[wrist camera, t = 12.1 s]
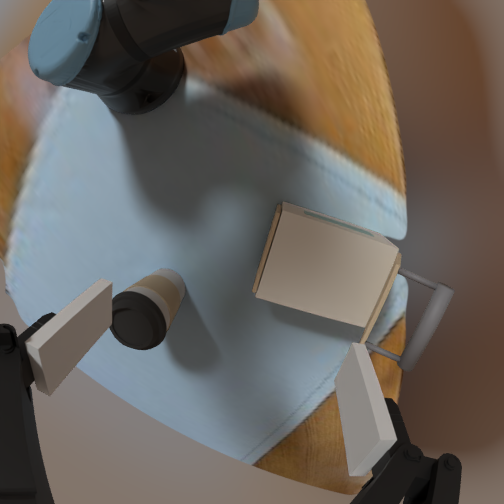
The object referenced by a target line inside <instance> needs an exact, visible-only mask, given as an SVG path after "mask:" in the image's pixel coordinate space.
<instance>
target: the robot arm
mask: <svg viewBox="0 0 504 504" xmlns="http://www.w3.org/2000/svg"><path fill="white" fill-rule="evenodd" d="M258 9H259V0H52V1H51V3H49V5H48V6H47V7H46V8H45V10H44V11H43V13H42V14H41V16H40V17H39V19H38V20H37V23H36V25H35V27H34V29H33V31H32V34H31V38H30V42H29V48H28V59H29V64H30V67H31V69H32V71H33V73H34V74H35V75H36V76H37V77H38V78H40V79H42V80H45V81H48V82H50V83H52V84H53V85H55V86H64V87H69V88H73V89H77V90H82V91H86V92H90V93H94V94H97V95H98V96H99V98H100V99H101V100H102V101H103V102H104V103H105V104H106V105H107V106H108V107H109V108H111V109H113V110H115V111H117V112H121V113H125V114H132V115H134V114H142V113H146V112H149V111H151V110H153V109H155V108H157V107H158V106H160V105H161V104H163V103H164V102H165V101H166V100H167V99H168V98H169V97H170V96H171V95H172V93H173V92H174V91H175V89H176V88H177V86H178V84H179V82H180V80H181V77H182V73H183V67H184V59H183V54H182V51H181V49H180V47H182V46H185V45H188V44H191V43H194V42H197V41H200V40H203V39H206V38H209V37H213V36H216V35H224V34H226V33H227V32H228V31H231V30H235V29H238V28H241V27H244V26H247V25H249V24H251V23H252V22H253V21H254V20H255V18H256V17H257V14H258ZM111 324H112V282H110V281H107V280H104V279H99V280H98V281H97V282H96V283H94V284H93V285H92V286H91V287H89V288H88V289H87V290H86V291H84V292H83V293H82V294H81V295H79V296H78V297H77V298H76V299H74V300H73V301H72V302H71V303H70V304H68V305H67V306H66V307H65V308H64V309H62V310H61V311H60V312H59V313H58V314H55V313H52V312H51V313H49V314H46V315H44V316H42V317H41V318H40V319H38V320H37V322H35V323H34V324H32V325H31V326H30V327H29V328H28V329H27V330H25V331H24V332H23V333H22V334H21V335H19V336H18V337H17V334H16V330H15V328H14V327H13V326H11V325H9V324H0V504H55V503H54V500H53V497H52V493H51V490H50V487H49V483H48V479H47V475H46V471H45V467H44V463H43V459H42V455H41V450H40V444H39V439H38V434H37V428H36V422H35V415H34V407H33V399H32V390H31V387H30V385H31V384H32V382H33V381H34V380H35V384H36V387H37V389H38V390H39V391H41V392H43V393H45V394H46V395H48V396H51V395H52V393H53V392H54V391H55V389H56V388H57V387H58V386H59V385H60V384H61V382H62V381H63V380H64V379H65V378H66V376H67V375H68V374H69V373H70V371H71V370H72V369H73V368H74V367H75V366H76V365H77V363H78V362H79V361H80V360H81V359H82V358H83V356H84V355H85V354H86V353H87V352H88V351H89V349H90V348H91V347H92V346H93V345H94V344H95V343H96V341H97V340H98V339H99V338H100V337H101V336H102V335H103V333H104V332H105V331H106V330H107V329H108V328H109V327H110V326H111ZM334 382H335V388H336V393H337V399H338V405H339V411H340V417H341V423H342V430H343V436H344V443H345V449H346V456H347V464H348V471H349V476H366V475H367V473H368V472H369V471H370V470H371V469H372V474H373V477H372V478H371V479H370V480H369V481H368V482H367V483H366V484H365V485H364V486H363V487H361V488H362V490H361V491H360V492H359V493H358V495H357V496H356V497H355V498H354V499H353V501H352V502H351V503H350V504H399V503H400V502H401V500H402V499H403V497H404V496H405V497H404V501H403V504H458V502H459V493H460V484H461V470H462V466H461V462H460V460H459V459H458V458H457V457H456V456H455V455H453V454H449V453H446V454H443V455H442V456H440V458H439V459H433V458H429V457H425V456H424V455H423V453H422V451H421V449H419V448H418V447H417V446H415V445H413V444H411V442H410V439H409V436H408V434H407V431H406V428H405V425H404V422H403V419H402V416H401V413H400V411H399V408H398V405H397V404H396V403H395V402H394V401H393V399H392V398H384V397H383V394H382V391H381V388H380V385H379V382H378V379H377V376H376V373H375V370H374V368H373V365H372V362H371V359H370V356H369V354H368V351H367V348H366V346H365V344H359V343H353V342H352V344H351V346H350V349H349V351H348V353H347V355H346V357H345V359H344V361H343V363H342V366H341V368H340V370H339V372H338V374H337V376H336V378H335V380H334Z"/></svg>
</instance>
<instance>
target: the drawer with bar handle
mask: <svg viewBox="0 0 504 504" xmlns="http://www.w3.org/2000/svg"><path fill="white" fill-rule="evenodd" d="M400 265H401V254H400V253H398V254H397V256H396V259H395V261H394V264H393V266H392V268H391V271H390V273H389V276H388V278H387V280H386V283H385V285H384V287H383V290H382V292H381V294H380V297H379V299H378V301H377V303H376V305H375V308H374V310H373V312H372V314H371V316H370V318H369V320H368V322H367V325H366V327H365V330H364V332H363V335H362V338H361V340H360V343H359V344H365V346H366V348H368V349H370V350H372V351H374V352H377V353H379V354H381V355H383V356H386V357H388V358H390V359H392V360H395V361H397V364H398V366H399V367H400V368H401V369H403V370H405V371H412V369H413V368H414V366H415V365H416V363H417V362H418V360H419V358H420V356H421V355H422V353H423V351H424V350H425V348H426V346H427V344H428V342H429V341H430V339H431V337H432V335H433V333H434V332H435V330H436V328H437V326H438V323H439V322H440V320H441V318H442V316H443V314H444V312H445V310H446V308H447V306H448V304H449V302H450V300H451V298H452V295H453V293H454V289H452V288H451V287H449V286H448V285H446V284H443V283H441V282H438V284H436V283H434V282H432V281H429V280H427V279H425V278H423V277H420V276H418V275H416V274H414V273H411V272H409V271H407V270H405V269H402V268H400ZM397 273H398V274H400V275H402V276H405V277H407V278H409V279H411V280H414V281H416V282H418V283H420V284H423V285H425V286H427V287H429V288H432V289H434V290H435V291H434V293H433V295H432V297H431V299H430V301H429V303H428V306H427V308H426V310H425V312H424V314H423V316H422V318H421V320H420V322H419V324H418V326H417V327H416V329H415V331H414V333H413V335H412V337H411V339H410V341H409V342H408V344H407V346H406V348H405V350H404V351H403V353H402V355H401V357H400V356H398V355H396V354H393V353H391V352H389V351H387V350H384V349H382V348H380V347H378V346H376V345H373V344H371V343H369V342H367V341H366V340H367V338H368V336H369V334H370V332H371V330H372V328H373V326H374V324H375V322H376V319H377V317H378V315H379V313H380V311H381V309H382V307H383V305H384V302H385V300H386V298H387V296H388V294H389V291H390V289H391V287H392V285H393V282H394V280H395V278H396V275H397Z"/></svg>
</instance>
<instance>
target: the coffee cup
mask: <svg viewBox="0 0 504 504" xmlns="http://www.w3.org/2000/svg"><path fill="white" fill-rule="evenodd" d="M184 295H185V283H184V281H183V279H182V278H181V276H180V275H179V274H178V273H176V272H175V271H173V270H170V269H159V270H156V271H155V272H153V273H152V274H150V275H149V276H146V277H145V278H143V279H141V280H140V281H138V282H137V283H135V284H133V285H132V286H130V287H129V288H127V289H126V290H124V291H123V292H121V293H119V294H117V295H116V296H115V297H114V298H113V299H112V324H111V326H110V327H109V328H110V330H111V332H112V334H113V335H114V337H115V338H116V339H117V340H118V341H119V342H120V343H122V344H123V345H125V346H127V347H130V348H133V349H137V350H148V349H151V348H153V347H156V346H158V345H159V344H160V343H161V342H162V341H163V340H164V338H165V335H166V332H167V331H168V329H169V327H170V325H171V323H172V321H173V319H174V317H175V315H176V313H177V311H178V309H179V307H180V303H181V301H182V299H183V297H184Z"/></svg>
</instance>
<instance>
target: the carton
mask: <svg viewBox="0 0 504 504" xmlns="http://www.w3.org/2000/svg"><path fill="white" fill-rule="evenodd" d="M398 250H399V249H398V248H397V247H396V246H395V245H394V244H392V243H391V242H390V241H388V240H387V239H386V238H385V237H384V236H382V235H381V234H380V233H377V232H375V231H372V230H369V229H366V228H363V227H360V226H357V225H355V224H352V223H349V222H346V221H343V220H340V219H337V218H334V217H331V216H328V215H325V214H322V213H319V212H316V211H312V210H309V209H306V208H303V207H300V206H297V205H293V204H290V203H287V202H284V201H283V203H282V206H281V205H279V204H278V205H277V208H276V211H275V215H274V218H273V221H272V224H271V228H270V231H269V234H268V237H267V241H266V244H265V247H264V250H263V254H262V257H261V260H260V263H259V267H258V270H257V273H256V277H255V281H254V285H253V289H252V292H254V293H256V298H260V299H263V300H266V301H270V302H273V303H277V304H280V305H284V306H287V307H291V308H294V309H298V310H301V311H305V312H308V313H312V314H315V315H319V316H323V317H326V318H330V319H334V320H337V321H341V322H345V323H349V324H353V325H356V326H360V327H364V328H365V326H366V324H367V322H368V320H369V317H370V315H371V313H372V311H373V309H374V307H375V305H376V302H377V300H378V298H379V296H380V293H381V291H382V289H383V287H384V284H385V282H386V280H387V277H388V275H389V272H390V270H391V268H392V265H393V263H394V260H395V258H396V255H397V252H398ZM256 290H257V292H256Z"/></svg>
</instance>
